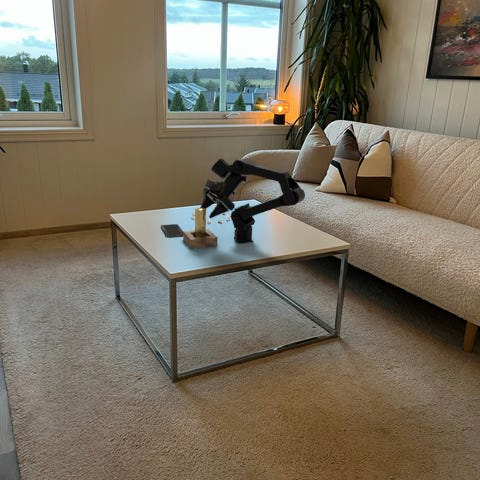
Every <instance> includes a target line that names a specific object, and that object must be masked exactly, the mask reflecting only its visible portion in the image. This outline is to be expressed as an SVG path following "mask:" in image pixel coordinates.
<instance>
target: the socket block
mask: <svg viewBox="0 0 480 480" xmlns="http://www.w3.org/2000/svg"><path fill="white" fill-rule="evenodd" d="M182 231H183V230H182ZM182 239H183V241H184V242H185V244H187V246H188V247H189V248H190V249H197V248H207V247H208V248H209V247H217V246H218V236H217V235H216V234H214V232H212V231H211V230H210V229H209V228H206V237H197V238H195V229H194V230H185V231H183V236H182Z"/></svg>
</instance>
